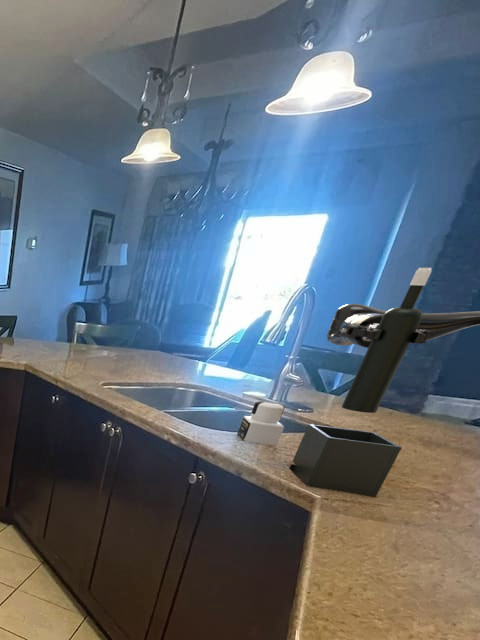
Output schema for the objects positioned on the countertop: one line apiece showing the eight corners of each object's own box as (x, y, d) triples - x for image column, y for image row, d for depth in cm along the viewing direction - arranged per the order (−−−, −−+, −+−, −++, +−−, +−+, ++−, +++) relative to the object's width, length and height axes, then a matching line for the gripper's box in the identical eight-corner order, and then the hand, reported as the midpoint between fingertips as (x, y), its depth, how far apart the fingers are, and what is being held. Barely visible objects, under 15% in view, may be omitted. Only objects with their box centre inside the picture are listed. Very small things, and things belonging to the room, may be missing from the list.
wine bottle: (354, 406, 115) (419, 268, 103) (383, 412, 110) (454, 268, 98) (334, 406, 114) (397, 267, 102) (362, 413, 109) (432, 267, 97)
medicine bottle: (234, 440, 134) (250, 397, 130) (266, 445, 132) (283, 401, 127) (240, 447, 129) (257, 403, 124) (274, 452, 126) (292, 407, 121)
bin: (351, 478, 111) (374, 432, 107) (375, 497, 101) (402, 447, 97) (289, 468, 115) (308, 424, 111) (306, 485, 106) (328, 437, 101)
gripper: (337, 311, 119) (360, 315, 105) (420, 316, 112) (456, 321, 99) (324, 343, 122) (345, 351, 108) (404, 349, 115) (436, 358, 102)
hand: (398, 336), depth 104 cm, fingers closed on wine bottle, 5 cm apart
